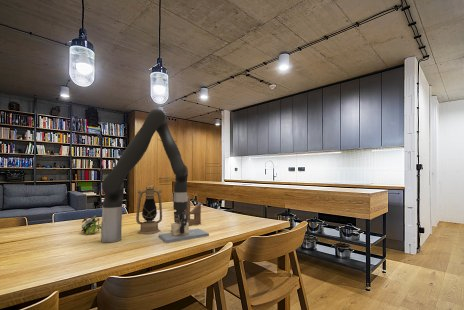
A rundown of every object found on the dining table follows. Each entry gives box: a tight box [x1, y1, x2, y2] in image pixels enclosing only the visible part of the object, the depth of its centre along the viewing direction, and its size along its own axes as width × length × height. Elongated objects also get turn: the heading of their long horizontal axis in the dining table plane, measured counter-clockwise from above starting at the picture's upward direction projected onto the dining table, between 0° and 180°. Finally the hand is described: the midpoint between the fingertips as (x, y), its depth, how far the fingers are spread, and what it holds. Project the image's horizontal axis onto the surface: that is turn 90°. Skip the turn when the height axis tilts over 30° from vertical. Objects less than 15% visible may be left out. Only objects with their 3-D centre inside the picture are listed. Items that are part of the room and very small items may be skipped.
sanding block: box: [170, 222, 190, 237], centre depth 132 cm, size 8×5×6 cm, turn 124°
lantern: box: [135, 184, 163, 235], centre depth 144 cm, size 14×12×30 cm
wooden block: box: [185, 197, 202, 227], centre depth 163 cm, size 4×11×18 cm, turn 119°
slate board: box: [157, 228, 210, 244], centre depth 133 cm, size 24×13×2 cm, turn 124°
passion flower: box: [80, 215, 101, 236], centre depth 142 cm, size 11×11×12 cm
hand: (180, 232), depth 132 cm, fingers closed on sanding block, 5 cm apart
